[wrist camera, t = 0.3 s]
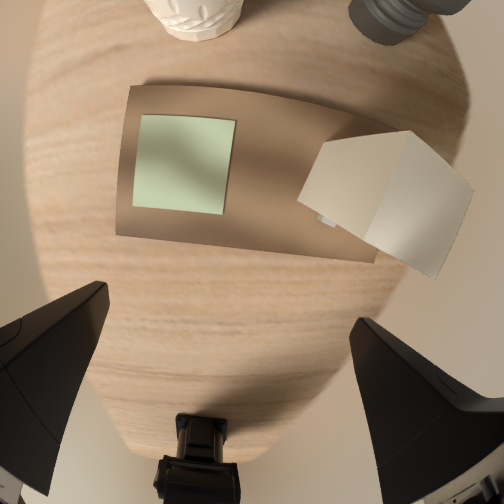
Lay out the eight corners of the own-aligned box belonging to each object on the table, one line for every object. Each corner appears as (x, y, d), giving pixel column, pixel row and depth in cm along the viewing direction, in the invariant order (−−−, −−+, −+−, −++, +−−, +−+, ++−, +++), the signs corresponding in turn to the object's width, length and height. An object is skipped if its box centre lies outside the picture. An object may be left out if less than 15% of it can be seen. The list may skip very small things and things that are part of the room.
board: (366, 257, 24) (400, 284, 18) (122, 230, 22) (91, 252, 16) (390, 131, 20) (431, 127, 15) (136, 90, 18) (107, 69, 12)
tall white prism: (346, 232, 22) (429, 290, 11) (293, 207, 21) (355, 254, 10) (377, 166, 20) (477, 179, 10) (326, 135, 19) (414, 118, 9)
